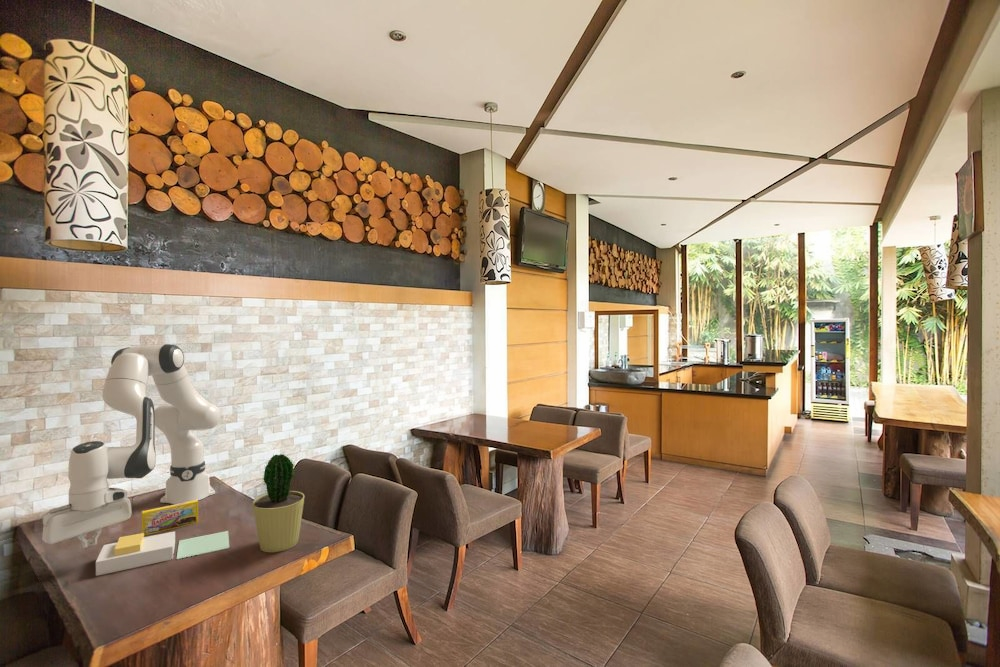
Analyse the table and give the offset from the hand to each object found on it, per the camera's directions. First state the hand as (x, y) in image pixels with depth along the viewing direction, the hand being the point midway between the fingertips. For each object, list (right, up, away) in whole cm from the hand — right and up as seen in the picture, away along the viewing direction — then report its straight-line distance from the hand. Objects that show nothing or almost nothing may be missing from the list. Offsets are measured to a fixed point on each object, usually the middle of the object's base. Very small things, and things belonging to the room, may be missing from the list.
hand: (89, 545), depth 138 cm
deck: (+10, -7, +6) cm, 13 cm away
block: (+8, -3, +5) cm, 10 cm away
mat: (+24, -7, +15) cm, 29 cm away
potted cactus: (+48, -7, +16) cm, 51 cm away
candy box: (+5, -7, +27) cm, 28 cm away
